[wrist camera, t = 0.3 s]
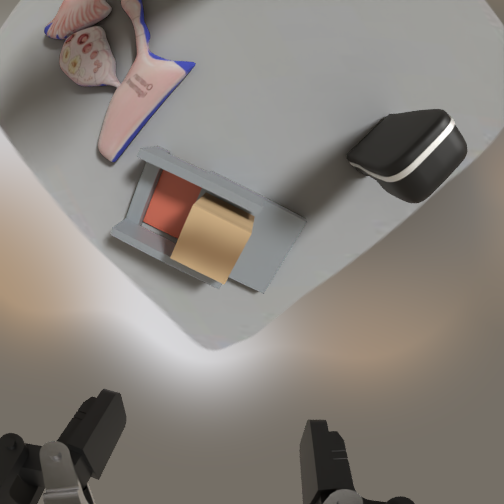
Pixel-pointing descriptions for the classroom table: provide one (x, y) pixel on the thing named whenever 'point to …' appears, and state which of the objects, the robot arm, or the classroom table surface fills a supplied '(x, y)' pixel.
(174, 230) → the channel
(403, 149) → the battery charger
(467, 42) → the classroom table surface
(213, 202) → the oak block
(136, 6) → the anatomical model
